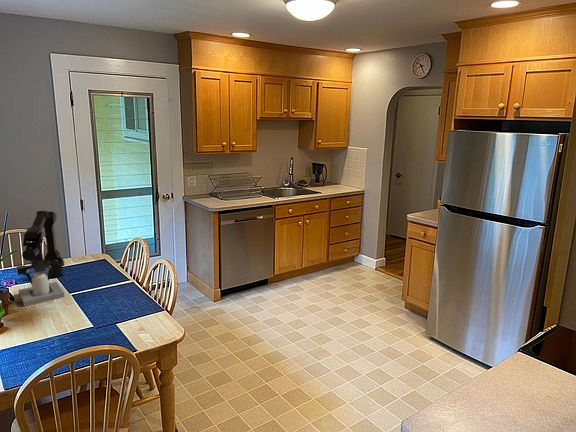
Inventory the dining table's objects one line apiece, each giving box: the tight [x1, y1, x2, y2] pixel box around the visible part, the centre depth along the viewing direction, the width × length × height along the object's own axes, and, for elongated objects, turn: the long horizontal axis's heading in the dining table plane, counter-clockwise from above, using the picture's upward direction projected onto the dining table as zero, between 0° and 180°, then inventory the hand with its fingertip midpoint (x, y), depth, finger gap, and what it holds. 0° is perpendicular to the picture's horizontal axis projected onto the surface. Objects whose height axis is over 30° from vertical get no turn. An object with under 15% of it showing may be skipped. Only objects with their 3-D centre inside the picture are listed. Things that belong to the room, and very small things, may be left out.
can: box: [30, 270, 50, 296], centre depth 217 cm, size 8×8×12 cm
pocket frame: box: [18, 281, 65, 307], centre depth 218 cm, size 18×18×2 cm
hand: (39, 282), depth 216 cm, fingers closed on can, 7 cm apart
